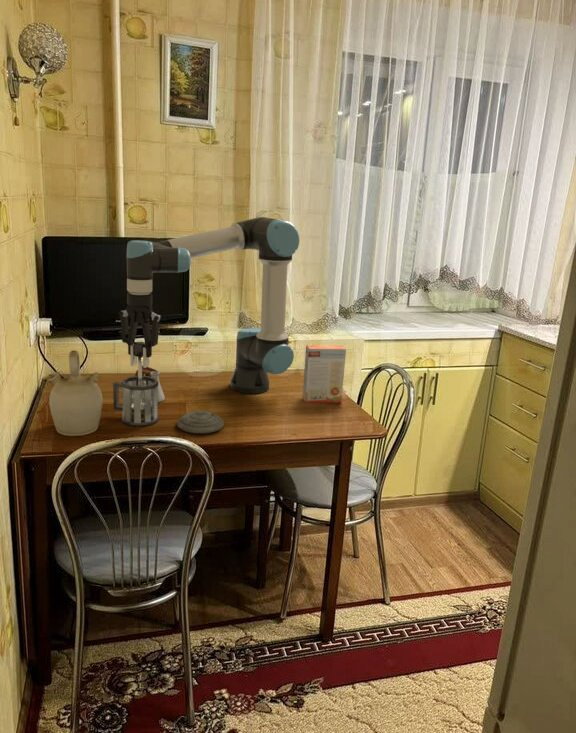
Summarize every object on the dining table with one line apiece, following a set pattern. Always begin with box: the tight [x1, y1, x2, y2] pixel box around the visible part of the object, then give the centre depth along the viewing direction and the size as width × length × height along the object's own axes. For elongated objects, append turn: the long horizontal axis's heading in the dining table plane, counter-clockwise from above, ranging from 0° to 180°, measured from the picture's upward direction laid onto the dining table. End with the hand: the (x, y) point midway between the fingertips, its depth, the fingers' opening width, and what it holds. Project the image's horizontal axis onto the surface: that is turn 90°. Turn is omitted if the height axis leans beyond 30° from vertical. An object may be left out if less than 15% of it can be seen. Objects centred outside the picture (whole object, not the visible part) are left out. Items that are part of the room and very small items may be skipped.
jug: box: [48, 350, 103, 437], centre depth 182 cm, size 15×16×25 cm
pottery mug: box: [134, 365, 159, 386], centre depth 229 cm, size 12×10×8 cm
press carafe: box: [112, 375, 159, 428], centre depth 195 cm, size 15×12×13 cm
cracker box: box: [302, 344, 347, 404], centre depth 223 cm, size 14×6×21 cm, turn 99°
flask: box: [150, 371, 166, 403], centre depth 213 cm, size 7×7×10 cm
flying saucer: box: [176, 410, 225, 435], centre depth 193 cm, size 15×15×6 cm
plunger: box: [132, 341, 152, 410], centre depth 192 cm, size 8×8×21 cm
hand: (139, 365), depth 191 cm, fingers closed on plunger, 4 cm apart
